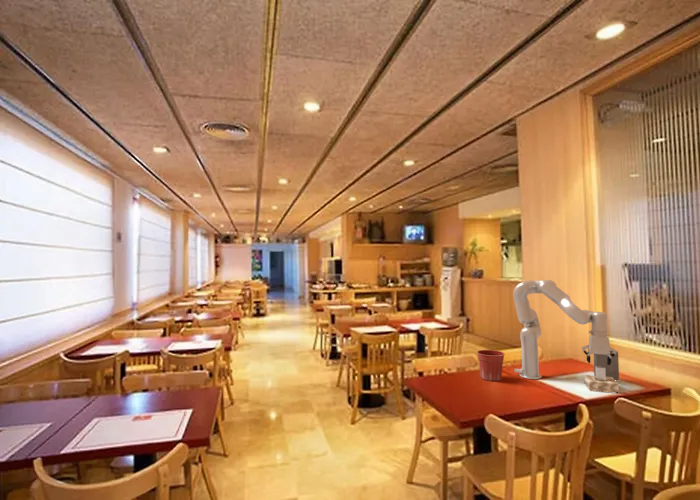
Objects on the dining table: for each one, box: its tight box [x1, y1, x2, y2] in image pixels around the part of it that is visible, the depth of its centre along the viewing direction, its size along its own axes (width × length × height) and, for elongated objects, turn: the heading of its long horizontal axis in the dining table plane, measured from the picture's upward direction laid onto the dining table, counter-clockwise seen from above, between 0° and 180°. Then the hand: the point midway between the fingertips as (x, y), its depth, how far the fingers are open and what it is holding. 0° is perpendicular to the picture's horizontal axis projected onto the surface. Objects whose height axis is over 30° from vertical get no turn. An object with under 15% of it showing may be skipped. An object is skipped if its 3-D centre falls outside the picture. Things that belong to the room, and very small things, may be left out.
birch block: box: [584, 374, 620, 394], centre depth 225 cm, size 14×14×5 cm
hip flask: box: [593, 350, 620, 381], centre depth 239 cm, size 16×4×20 cm, turn 100°
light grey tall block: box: [596, 366, 606, 381], centre depth 225 cm, size 4×4×11 cm
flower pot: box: [476, 349, 506, 382], centre depth 247 cm, size 16×16×16 cm
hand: (598, 363), depth 226 cm, fingers open, 9 cm apart
